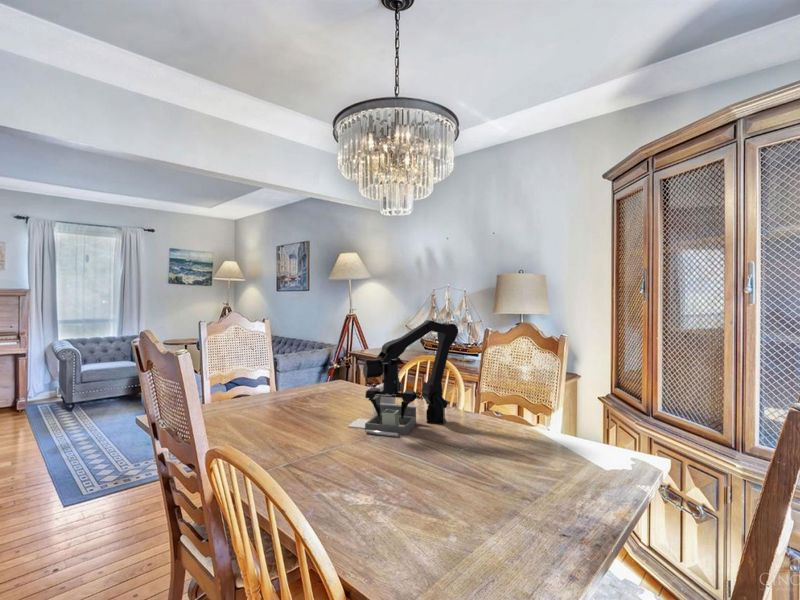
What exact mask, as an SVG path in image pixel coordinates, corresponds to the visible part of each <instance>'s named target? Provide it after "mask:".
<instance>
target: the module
mask: <svg viewBox="0 0 800 600" xmlns="http://www.w3.org/2000/svg"><path fill="white" fill-rule="evenodd" d="M381 424H383V425H392V426H400V423H399V410H391V409H386V410H385V411H384V412H382V421H381Z"/></svg>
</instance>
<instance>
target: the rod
mask: <svg viewBox="0 0 800 600" xmlns="http://www.w3.org/2000/svg"><path fill="white" fill-rule="evenodd" d="M365 434H368V435H377V436H385V437H386V436H387V437H394V438H399V435H400V434H398V433H394V432H385V431H376V430H367V429H366V430H365Z"/></svg>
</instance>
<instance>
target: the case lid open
mask: <svg viewBox="0 0 800 600" xmlns="http://www.w3.org/2000/svg"><path fill="white" fill-rule="evenodd" d="M386 409H391V410H399V415H401V404H396V403H395V404H385V403H380V410H381V414H382V412H384V411H385V410H386ZM404 416H411V417H415V424H417V405H416V406H415V405H408V406H407V408H406V411H405V414H404Z"/></svg>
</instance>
